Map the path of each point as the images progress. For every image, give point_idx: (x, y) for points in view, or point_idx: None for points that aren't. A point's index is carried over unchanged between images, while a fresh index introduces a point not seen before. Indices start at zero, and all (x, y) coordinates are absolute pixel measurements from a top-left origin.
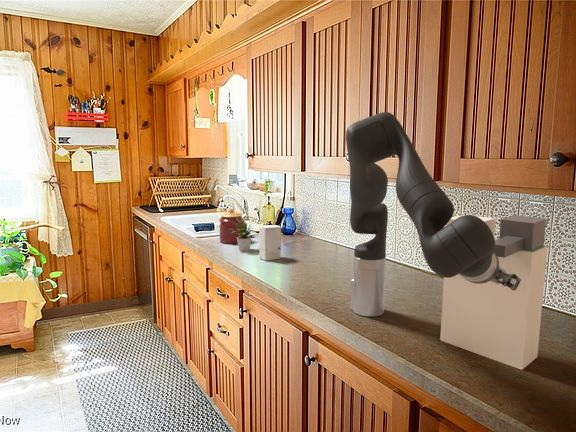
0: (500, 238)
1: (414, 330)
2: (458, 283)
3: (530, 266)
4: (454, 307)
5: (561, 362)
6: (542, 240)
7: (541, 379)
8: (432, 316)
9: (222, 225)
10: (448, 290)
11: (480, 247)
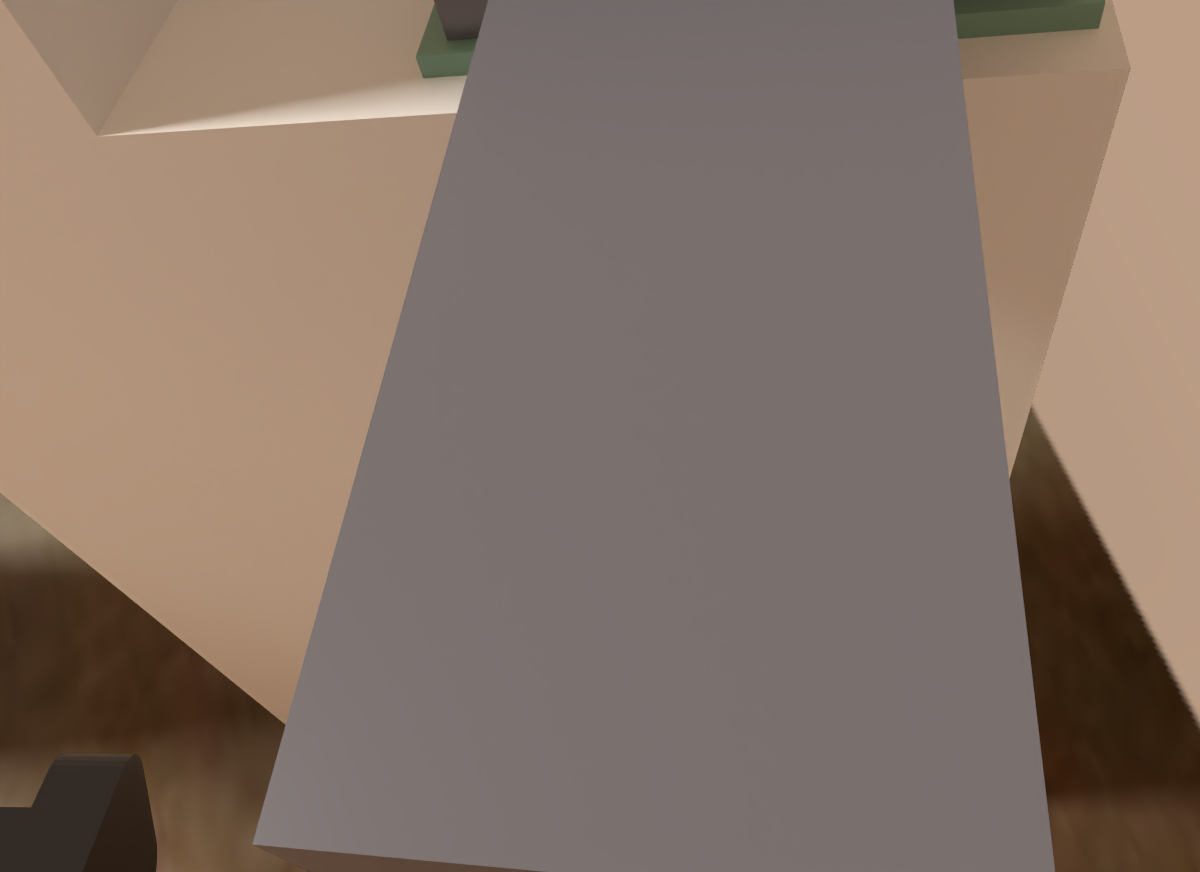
0: (481, 47)
1: (136, 734)
2: (212, 541)
3: (1061, 274)
4: (302, 655)
5: (1031, 518)
6: None
7: (1066, 848)
8: None
9: None
10: (167, 585)
11: None
